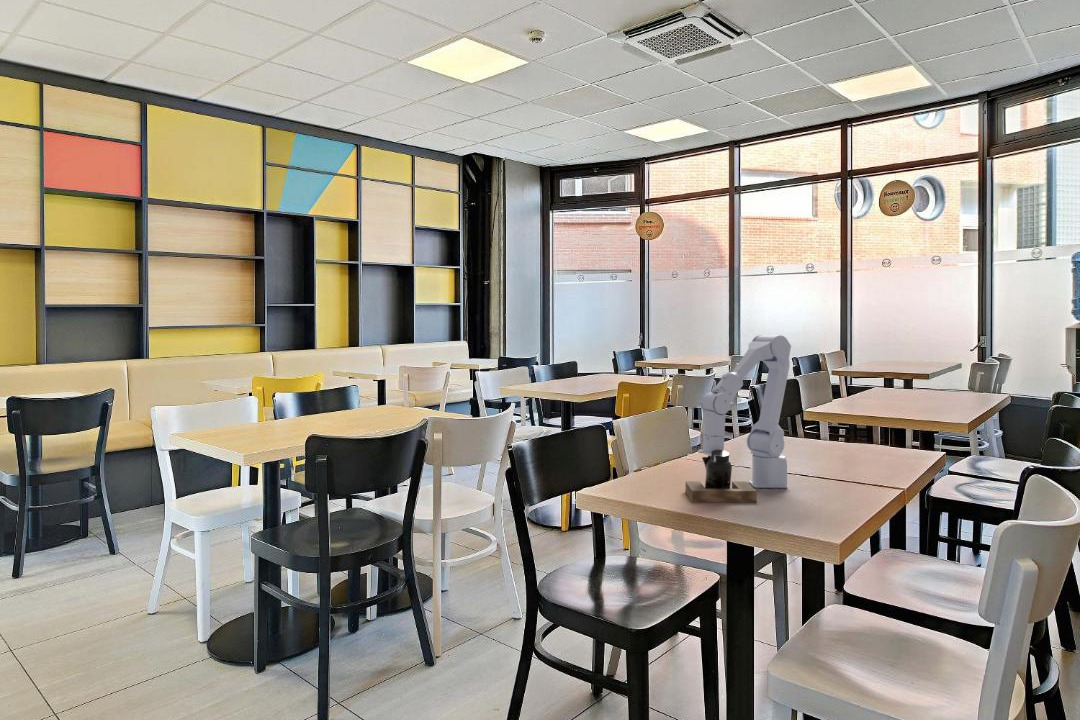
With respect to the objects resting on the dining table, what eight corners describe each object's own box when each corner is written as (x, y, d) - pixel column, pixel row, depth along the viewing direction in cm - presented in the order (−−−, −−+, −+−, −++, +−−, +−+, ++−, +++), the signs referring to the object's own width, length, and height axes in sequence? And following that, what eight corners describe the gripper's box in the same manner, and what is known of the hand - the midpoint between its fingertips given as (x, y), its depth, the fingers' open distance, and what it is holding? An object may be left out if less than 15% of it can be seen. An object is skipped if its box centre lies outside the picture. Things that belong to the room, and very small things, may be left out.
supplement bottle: (733, 497, 192) (736, 458, 188) (709, 498, 191) (712, 459, 188) (724, 485, 198) (728, 447, 195) (701, 486, 198) (704, 448, 194)
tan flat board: (746, 492, 197) (746, 481, 197) (756, 502, 186) (756, 491, 185) (685, 491, 198) (685, 481, 198) (692, 501, 187) (692, 490, 186)
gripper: (695, 430, 204) (693, 476, 205) (703, 438, 190) (701, 487, 191) (720, 431, 204) (718, 477, 205) (730, 439, 189) (727, 489, 190)
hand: (711, 482), depth 198 cm, fingers closed, pressing on supplement bottle
